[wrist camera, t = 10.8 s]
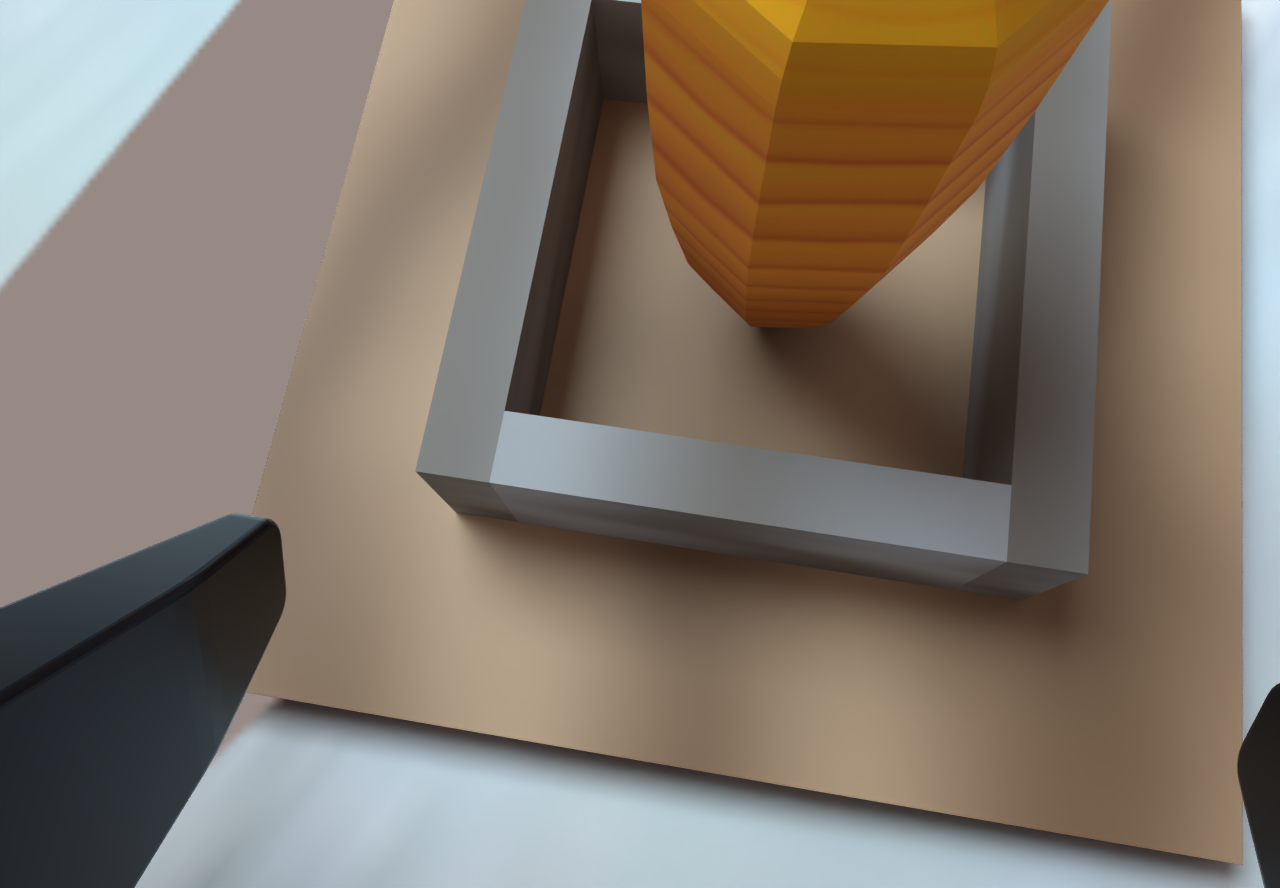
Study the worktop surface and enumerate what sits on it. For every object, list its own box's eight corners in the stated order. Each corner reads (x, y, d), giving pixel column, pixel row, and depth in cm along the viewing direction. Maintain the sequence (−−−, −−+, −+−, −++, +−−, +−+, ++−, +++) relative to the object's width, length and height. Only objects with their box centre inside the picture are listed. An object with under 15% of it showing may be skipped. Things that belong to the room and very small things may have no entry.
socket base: (1216, 3, 22) (1329, -149, 19) (1211, 858, 17) (1361, 892, 14) (436, -81, 24) (389, -238, 20) (228, 687, 19) (114, 675, 15)
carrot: (933, 249, 20) (1662, -1011, 5) (838, 470, 19) (1450, -392, 4) (704, 157, 21) (813, -1189, 6) (599, 365, 19) (423, -694, 5)
